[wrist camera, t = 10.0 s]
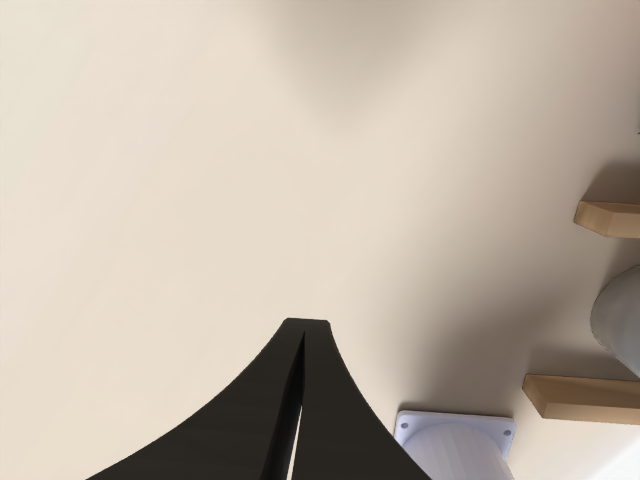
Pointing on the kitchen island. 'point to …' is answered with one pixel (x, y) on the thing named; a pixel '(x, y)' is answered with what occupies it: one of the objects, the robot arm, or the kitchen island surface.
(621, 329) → the grey round dome
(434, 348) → the kitchen island surface
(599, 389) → the wooden tray
